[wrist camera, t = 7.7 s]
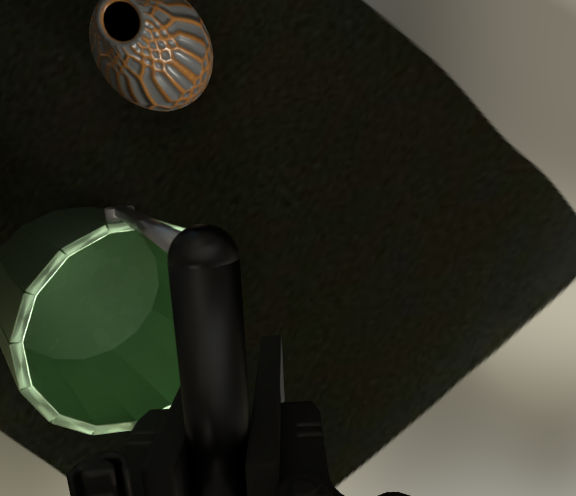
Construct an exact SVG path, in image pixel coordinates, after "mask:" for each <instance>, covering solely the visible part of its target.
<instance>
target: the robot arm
mask: <svg viewBox="0 0 576 496" xmlns="http://www.w3.org/2000/svg"><path fill="white" fill-rule="evenodd" d="M250 429H251V431H250V436H249V438H248V446H247V453H246V461H245V472H246V485H247V496H344V495H343V494H341V493H340V492H339V491H338V490H337V489H336V488H335V487H334V486H333V484H332V482H331V481H330V477H329V473H328V466H327V459H326V452H325V445H324V438H323V431H322V424H321V416H320V411H319V410H318V408H317V407H316V406H315V405H314V403H313V402H312V401H306V402H284V381H283V361H282V341H281V335H278V336H262V341H261V349H260V356H259V364H258V371H257V379H256V386H255V394H254V401H253V409H252V416H251V423H250ZM67 480H68V485H69V490H70V495H71V496H192V489H191V480H190V471H189V461H188V452H187V443H186V433H185V424H184V415H183V405H182V396H181V387H179V389H178V392H177V394H176V396H175V398H174V400H173V402H172V404H171V406H170V408H169V409H150V410H149V411H148V412H147V413H146V414H144V415H143V416H142V417H141V418H140V419H139V420H138V421H137V422H136V424H135V426H134V428H133V429H132V431H131V434H130V435H129V436H128V438H127V440H126V442H125V445H124V446H123V447H122V448H121V450H120V452H119V451H104V452H100V453H96V454H94V455H92V456H90V457H87V458H85V459H84V460H82V461H81V462H80V463H78V464H77V465H75V466H74V467H73V468H72V470H71V471H70V472H69V473H68V474H67ZM378 496H410V495H406V494H403V493H400V492H386V493H383V494H381V495H378Z"/></svg>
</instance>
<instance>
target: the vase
mask: <svg viewBox="0 0 576 496" xmlns="http://www.w3.org/2000/svg"><path fill="white" fill-rule="evenodd" d="M89 39H90V46H91V51H92V54H93V57H94V60H95V62H96V64H97V66H98V68H99V70H100V72H101V73H102V75H103V76H104V78H105V79H106V81H107V82H108V83H109V84H110V86H111V87H112V88H113V89H114V90H115V91H116V92H118V93H119V94H120V95H121V96H122V97H124V98H125V99H127V100H128V101H130V102H132V103H134V104H136V105H138V106H140V107H143V108H146V109H150V110H156V111H173V110H177V109H180V108H183V107H185V106H187V105H189V104H191V103H192V102H194V101H195V100H196V99H197V98H198V97H199V96H200V95H201V94H202V92H203V91H204V90H205V88H206V86H207V84H208V82H209V80H210V77H211V73H212V67H213V50H212V45H211V41H210V37H209V34H208V32H207V29H206V27H205V25H204V23H203V21H202V20H201V18H200V16H199V15H198V13H197V12H196V11H195V9H194V8H193V7H192V6H191V5H190V4H189V3H188V2H187V1H186V0H99V1H98V3H97V4H96V6H95V8H94V10H93V13H92V16H91V20H90V26H89Z"/></svg>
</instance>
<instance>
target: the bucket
mask: <svg viewBox="0 0 576 496" xmlns="http://www.w3.org/2000/svg"><path fill="white" fill-rule="evenodd" d="M0 347H1V349H2V352H3V354H4V356H5V359H6V361H7V363H8V366H9V368H10V370H11V373H12V375H13V377H14V380H15V382H16V384H17V387H18V389H19V391H20V393H21V394H22V395H23V396H24V397H25V398H26V399H27V400H28V401H29V402H30V403H31V404H32V405H33V406H34V407H35V408H36V409H37V410H38V411H39V412H40V413H41V414H42V415H43V416H44V418H45V419H46V420H47V421H48V422H51V423H52V424H55V425H59V426H62V427H65V428H69V429H72V430H76V431H79V432H82V433H86V434H89V435H91V434H93V435H98V434H106V433H114V432H122V431H129V430H132V429H133V428H134V426H135V424H136V422H137V421H138V420H139V419H140V418H141V417H142V416H143V415H144V414H146V413H147V412H148V411H149V410H150V409H169V408H170V406H171V404H172V402H173V400H174V398H175V396H176V394H177V392H178V389H179V387H181V396H182V405H183V415H184V424H185V433H186V443H187V452H188V461H189V471H190V480H191V489H192V496H247V485H246V472H245V461H246V453H247V446H248V438H249V436H250V431H251V429H250V413H249V397H248V381H247V365H246V349H245V334H244V318H243V302H242V286H241V270H240V256H239V250H238V247H237V245H236V243H235V241H234V240H233V238H232V237H231V236H230V235H229V234H228V233H227V232H226V231H225V230H223V229H222V228H220V227H217V226H215V225H211V224H196V225H193V226H190V227H187V228H185V227H181V226H178V225H174V224H171V223H167V222H164V221H160V220H157V219H153V218H151V217H149V216H147V215H144V214H142V213H140V212H138V211H136V210H135V207H134V206H125V205H122V204H118V205H116V206H113V207H107V208H105V209H101V208H95V207H81V208H71V209H60V210H56V211H52V212H50V213H48V214H46V215H44V216H42V217H39V218H37V219H35V220H33V221H31V222H29V223H27V224H25V225H23V226H21V228H19V229H18V230H17V231H16V232H15V233H14V234H13V235H12V236H11V238H10V239H9V240H8V241H7V242H6V243H5V244H4V245H3V246H2V248H1V249H0Z"/></svg>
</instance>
